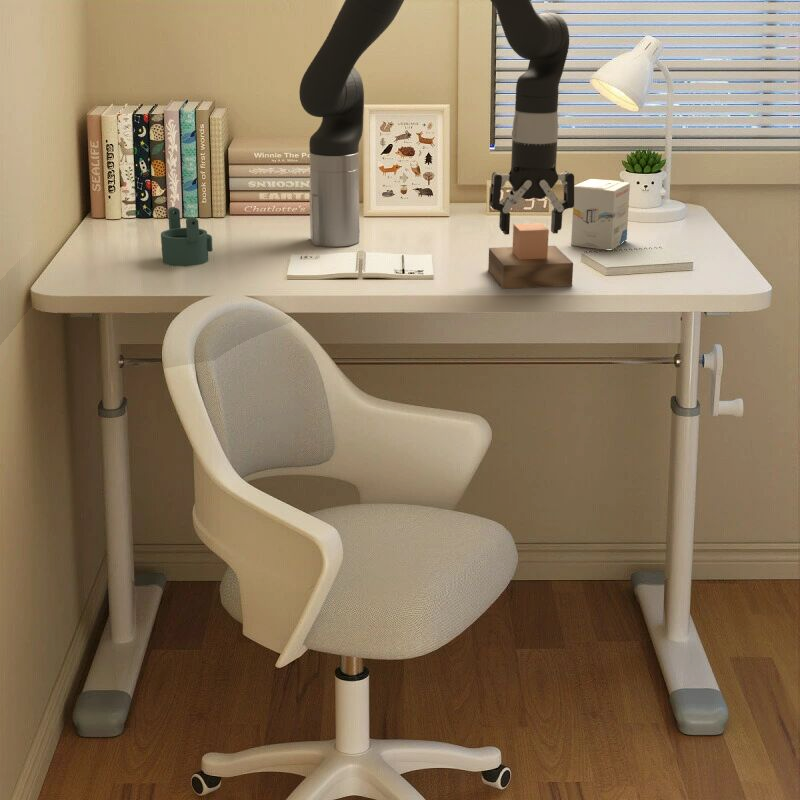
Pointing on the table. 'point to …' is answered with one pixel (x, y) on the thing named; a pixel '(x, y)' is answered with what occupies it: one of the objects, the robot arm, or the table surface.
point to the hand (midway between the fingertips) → (530, 233)
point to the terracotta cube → (530, 241)
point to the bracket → (184, 242)
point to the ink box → (600, 213)
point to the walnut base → (530, 269)
